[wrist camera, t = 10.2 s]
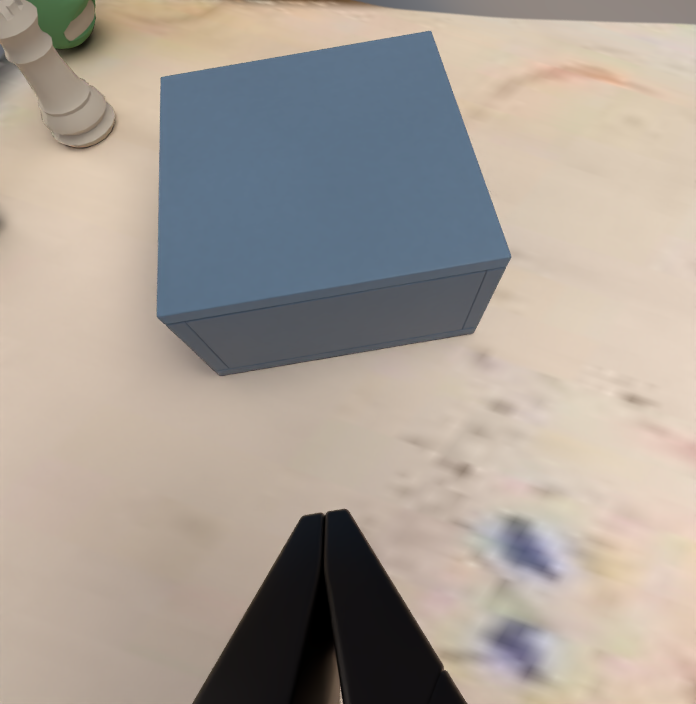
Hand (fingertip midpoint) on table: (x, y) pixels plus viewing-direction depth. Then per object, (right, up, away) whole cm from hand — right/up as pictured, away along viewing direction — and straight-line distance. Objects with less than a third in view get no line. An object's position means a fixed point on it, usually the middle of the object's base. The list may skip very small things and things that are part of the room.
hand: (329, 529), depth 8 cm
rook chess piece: (-18, +19, +23) cm, 35 cm away
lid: (-1, +12, +12) cm, 16 cm away
